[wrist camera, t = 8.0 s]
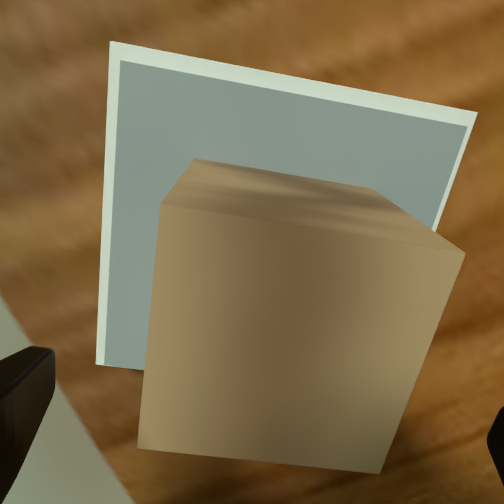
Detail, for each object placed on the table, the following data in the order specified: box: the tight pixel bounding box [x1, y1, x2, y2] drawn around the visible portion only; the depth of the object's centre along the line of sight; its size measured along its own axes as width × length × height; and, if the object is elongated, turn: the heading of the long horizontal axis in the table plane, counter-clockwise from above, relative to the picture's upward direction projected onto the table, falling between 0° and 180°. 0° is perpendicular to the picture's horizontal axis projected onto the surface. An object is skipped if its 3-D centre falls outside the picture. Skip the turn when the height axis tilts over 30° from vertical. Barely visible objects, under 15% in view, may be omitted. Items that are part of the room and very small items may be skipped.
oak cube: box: [137, 158, 466, 474], centre depth 11 cm, size 6×6×6 cm
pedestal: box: [96, 41, 478, 370], centre depth 16 cm, size 12×12×3 cm
